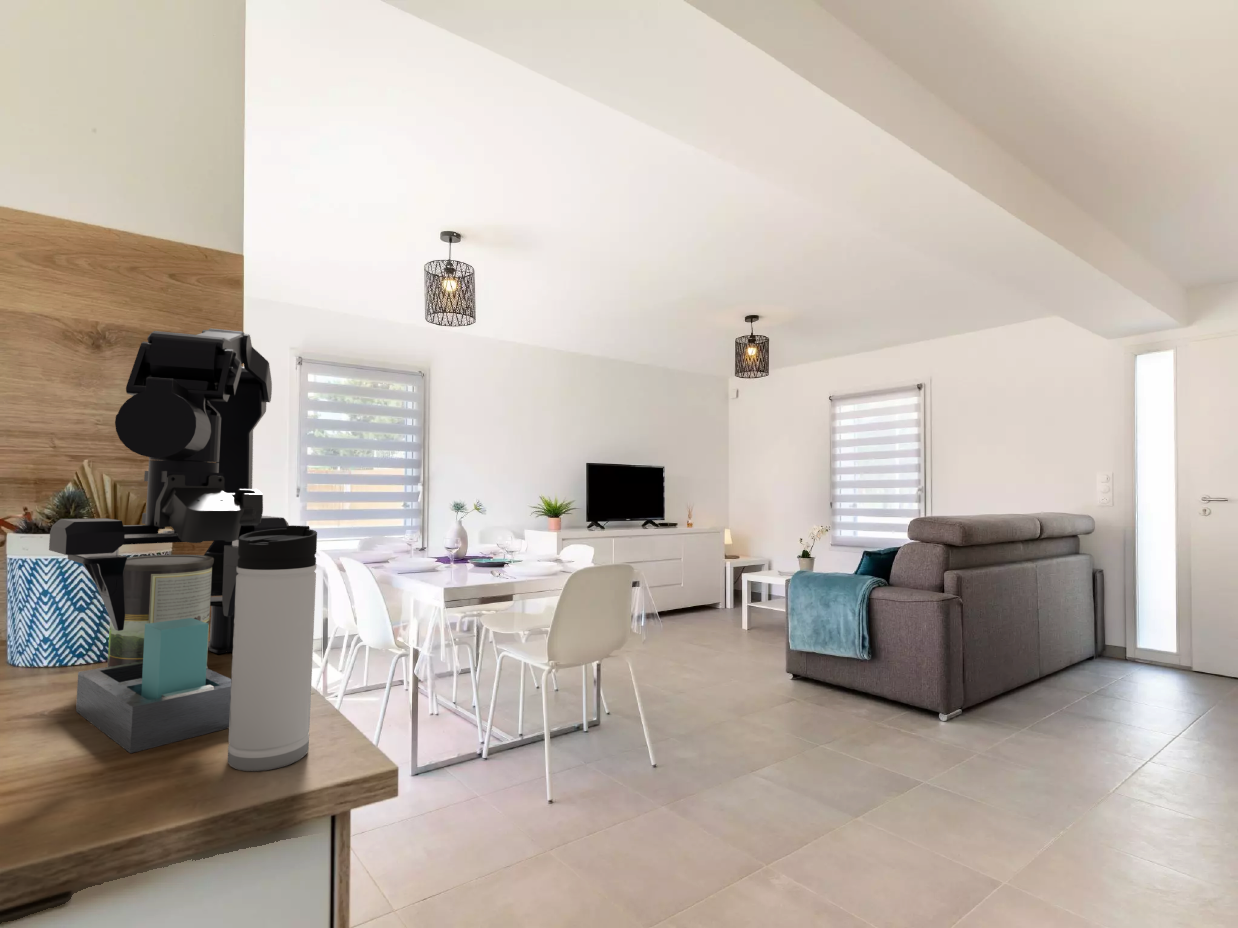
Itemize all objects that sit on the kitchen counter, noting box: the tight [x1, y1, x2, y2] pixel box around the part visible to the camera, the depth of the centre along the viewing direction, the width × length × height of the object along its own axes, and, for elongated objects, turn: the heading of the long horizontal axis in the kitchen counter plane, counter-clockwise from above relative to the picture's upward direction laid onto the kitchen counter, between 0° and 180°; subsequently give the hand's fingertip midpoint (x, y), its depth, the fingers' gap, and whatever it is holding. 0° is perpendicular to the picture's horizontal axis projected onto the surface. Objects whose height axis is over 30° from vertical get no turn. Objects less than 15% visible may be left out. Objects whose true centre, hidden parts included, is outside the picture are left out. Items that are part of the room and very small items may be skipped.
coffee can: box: [106, 554, 214, 669], centre depth 80 cm, size 10×10×14 cm
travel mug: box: [227, 524, 318, 772], centre depth 58 cm, size 6×7×20 cm
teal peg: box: [141, 618, 209, 700], centre depth 63 cm, size 4×4×10 cm
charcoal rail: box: [75, 661, 231, 754], centre depth 66 cm, size 16×9×4 cm, turn 53°
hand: (176, 622), depth 63 cm, fingers open, 9 cm apart
